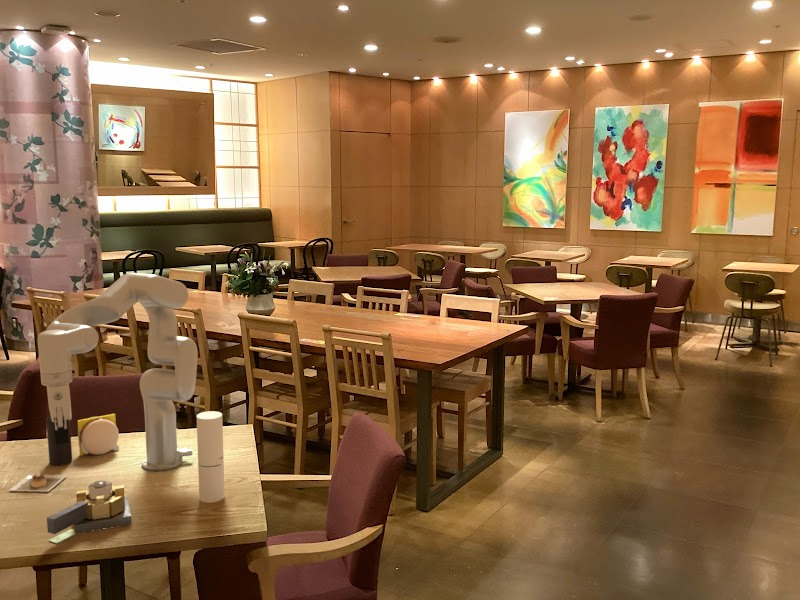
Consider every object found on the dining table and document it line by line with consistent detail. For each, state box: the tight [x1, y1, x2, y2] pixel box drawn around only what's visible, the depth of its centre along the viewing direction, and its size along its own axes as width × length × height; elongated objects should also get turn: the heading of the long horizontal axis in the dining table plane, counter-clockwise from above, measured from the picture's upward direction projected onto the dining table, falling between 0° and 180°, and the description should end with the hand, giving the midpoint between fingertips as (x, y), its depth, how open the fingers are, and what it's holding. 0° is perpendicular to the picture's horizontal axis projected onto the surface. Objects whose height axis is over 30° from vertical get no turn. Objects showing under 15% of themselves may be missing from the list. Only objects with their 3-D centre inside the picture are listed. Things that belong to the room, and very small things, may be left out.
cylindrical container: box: [196, 410, 226, 504], centre depth 216 cm, size 7×7×25 cm
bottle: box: [46, 409, 73, 466], centre depth 242 cm, size 7×7×20 cm
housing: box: [48, 480, 132, 545], centre depth 201 cm, size 20×18×10 cm
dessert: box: [8, 471, 68, 493], centre depth 226 cm, size 12×12×5 cm
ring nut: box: [46, 484, 126, 535], centre depth 199 cm, size 22×12×6 cm, turn 156°
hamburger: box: [77, 413, 120, 456], centre depth 251 cm, size 12×8×12 cm
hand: (62, 442), depth 201 cm, fingers closed
